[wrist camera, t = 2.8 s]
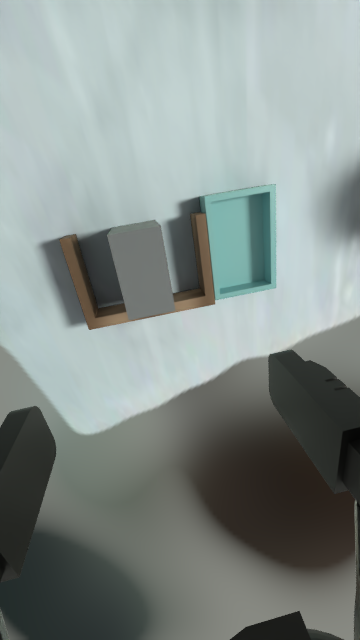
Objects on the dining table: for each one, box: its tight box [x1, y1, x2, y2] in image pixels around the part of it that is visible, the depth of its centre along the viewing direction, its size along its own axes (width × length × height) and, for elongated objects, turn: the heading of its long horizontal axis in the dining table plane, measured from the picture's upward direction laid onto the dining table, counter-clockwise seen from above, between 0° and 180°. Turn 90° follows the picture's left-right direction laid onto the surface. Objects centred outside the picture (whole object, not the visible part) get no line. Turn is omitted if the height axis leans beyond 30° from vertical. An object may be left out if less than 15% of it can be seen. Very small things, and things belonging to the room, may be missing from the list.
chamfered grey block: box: [107, 220, 176, 320], centre depth 28 cm, size 5×8×7 cm, turn 9°
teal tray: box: [199, 184, 276, 300], centre depth 31 cm, size 7×11×2 cm
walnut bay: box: [59, 212, 215, 330], centre depth 30 cm, size 14×10×3 cm
